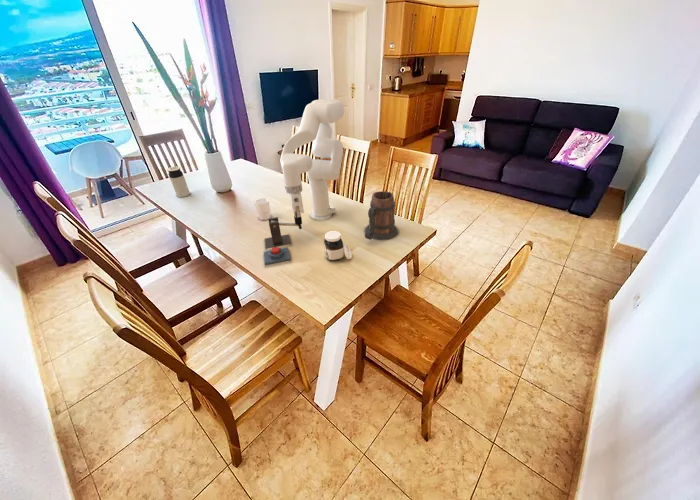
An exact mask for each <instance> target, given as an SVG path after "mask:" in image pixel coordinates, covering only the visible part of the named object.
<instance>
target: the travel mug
mask: <svg viewBox="0 0 700 500" xmlns="http://www.w3.org/2000/svg"><path fill="white" fill-rule="evenodd" d="M166 171H167V172H168V178H169V180H170V182H171V185H172V187H173V190H174V192H175V195H176V197H178V198H185V197H187V196H189V195H190V194H191V192H190V189H189V187H188V183H187V181H186V177H185V176H184V173H183V171H182V170H181V167H180V166H179V165H177V166H171V167H168V168H167V169H166Z"/></svg>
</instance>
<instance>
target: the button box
mask: <svg viewBox="0 0 700 500" xmlns="http://www.w3.org/2000/svg"><path fill="white" fill-rule="evenodd" d="M279 249H280V253H279V254H272V251H271V249H270V250H265V251H263V257H264V258H263V259H264V266H269V265H275V264H279V263H285V262H289V261H291V257H290V252H289V248H288V247H279Z"/></svg>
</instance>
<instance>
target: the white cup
mask: <svg viewBox="0 0 700 500" xmlns="http://www.w3.org/2000/svg"><path fill="white" fill-rule="evenodd" d="M253 203H254V204H253V205H254V207H255V211H256V214H257V218H258V219H259V220H260V221H266V220H268V219H269V218H272V215H271V214H272V213H271V205H270V199H269V198H267V197H259V198H257V199H255V200H254V201H253Z"/></svg>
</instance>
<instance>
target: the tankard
mask: <svg viewBox="0 0 700 500" xmlns="http://www.w3.org/2000/svg"><path fill="white" fill-rule="evenodd" d="M395 207H396V202H395V195H394V194H393V193H392V192H390V191H386V190H382V191H374V192H373V193H372V195H371V200H370V203H369V208H368V210H367V217H368V225H367V226H366V228H365V230H364V238H365V239H366V240H369V241H370V240H372V239H373V240H377V241H387V240H388V241H389V240H391V239H394V238H395V237H397V235H398V234H399V230H398V228H397V227H396V224H395V223H396V220H395Z"/></svg>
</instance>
